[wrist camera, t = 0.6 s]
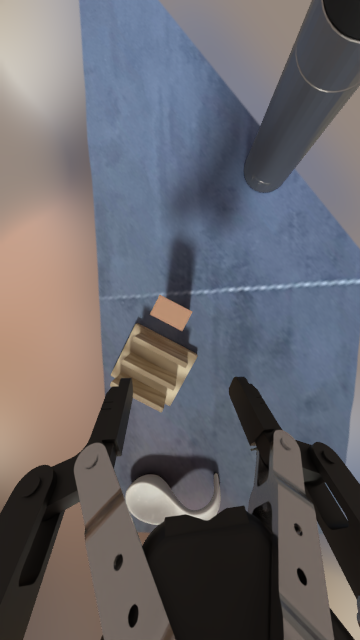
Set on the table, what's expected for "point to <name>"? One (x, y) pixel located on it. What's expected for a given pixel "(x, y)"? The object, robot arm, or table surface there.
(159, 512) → the spoon rest
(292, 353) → the table surface
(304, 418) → the table surface
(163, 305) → the clay slat
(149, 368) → the wooden slotted stand
